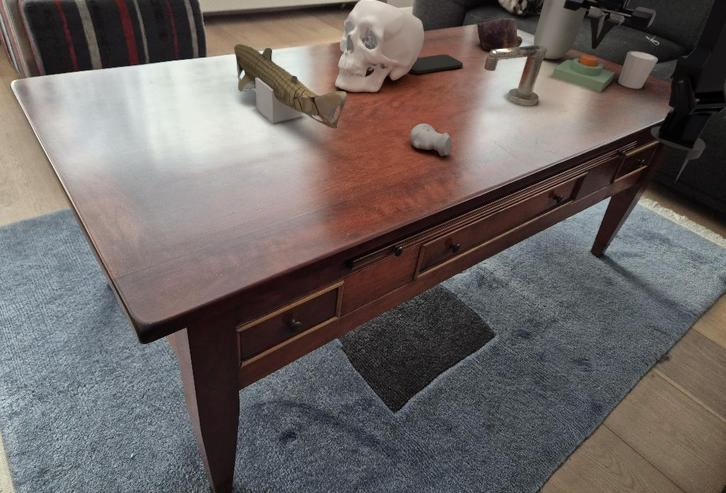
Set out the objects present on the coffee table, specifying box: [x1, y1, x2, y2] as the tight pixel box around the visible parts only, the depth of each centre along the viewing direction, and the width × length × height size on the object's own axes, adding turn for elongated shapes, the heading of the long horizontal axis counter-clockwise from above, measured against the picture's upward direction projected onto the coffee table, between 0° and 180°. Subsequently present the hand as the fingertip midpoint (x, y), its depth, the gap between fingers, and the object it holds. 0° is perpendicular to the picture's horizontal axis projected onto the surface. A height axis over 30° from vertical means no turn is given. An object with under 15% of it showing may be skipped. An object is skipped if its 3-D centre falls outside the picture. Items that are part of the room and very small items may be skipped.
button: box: [579, 54, 600, 67], centre depth 115 cm, size 4×4×2 cm
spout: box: [483, 44, 547, 72], centre depth 96 cm, size 15×3×4 cm, turn 119°
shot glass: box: [617, 50, 659, 90], centre depth 116 cm, size 7×7×7 cm
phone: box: [409, 53, 464, 75], centre depth 115 cm, size 7×1×15 cm
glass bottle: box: [533, 0, 588, 60], centre depth 120 cm, size 10×10×28 cm
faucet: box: [507, 56, 544, 107], centre depth 102 cm, size 6×6×9 cm
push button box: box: [551, 57, 616, 93], centre depth 117 cm, size 12×10×4 cm
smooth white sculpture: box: [409, 123, 453, 157], centre depth 82 cm, size 4×8×5 cm
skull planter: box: [334, 0, 425, 93], centre depth 102 cm, size 14×20×19 cm
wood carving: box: [233, 43, 348, 129], centre depth 84 cm, size 9×35×11 cm, turn 37°
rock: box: [476, 17, 523, 52], centre depth 127 cm, size 12×9×10 cm
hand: (593, 48), depth 113 cm, fingers closed
